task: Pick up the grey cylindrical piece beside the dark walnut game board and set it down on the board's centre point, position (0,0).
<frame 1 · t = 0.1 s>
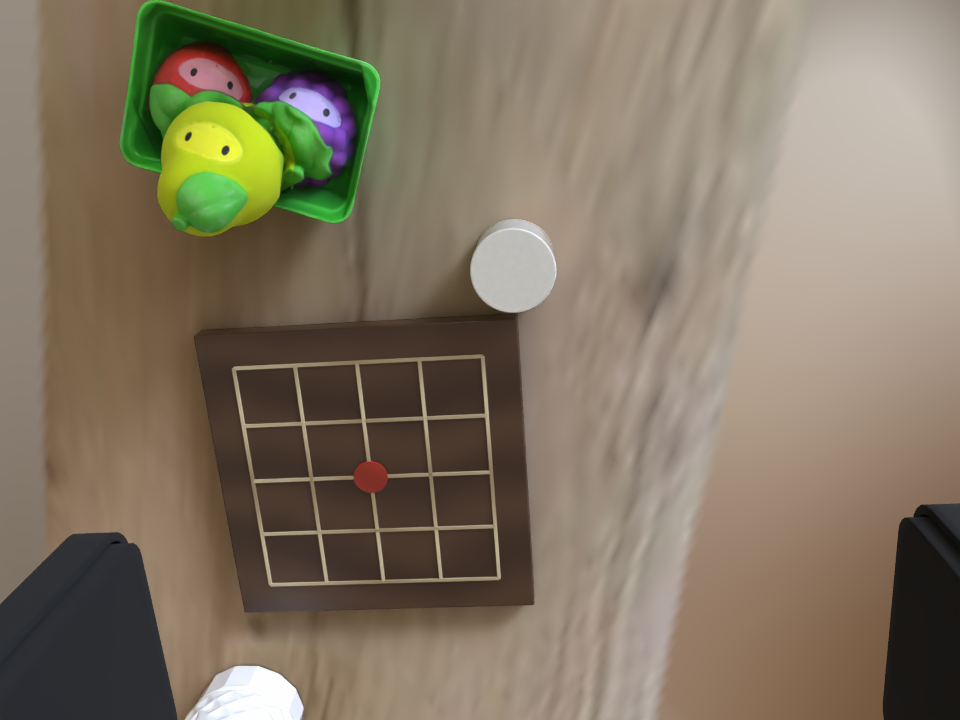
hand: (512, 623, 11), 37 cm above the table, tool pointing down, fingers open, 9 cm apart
board: (374, 467, 51), on the table
fruit basket: (276, 122, 45), on the table
grey cylindrical piece: (514, 259, 46), on the table
white cup: (255, 703, 57), on the table
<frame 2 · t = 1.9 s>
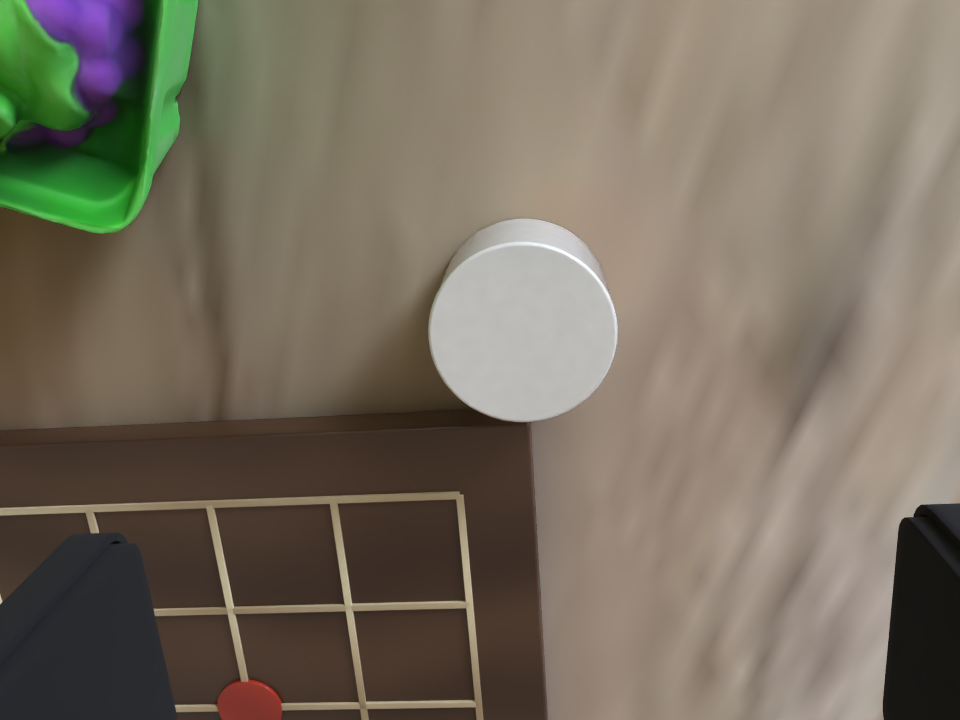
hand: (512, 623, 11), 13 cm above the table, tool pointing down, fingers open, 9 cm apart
board: (262, 679, 27), on the table
fruit basket: (18, 12, 21), on the table
grey cylindrical piece: (523, 301, 23), on the table
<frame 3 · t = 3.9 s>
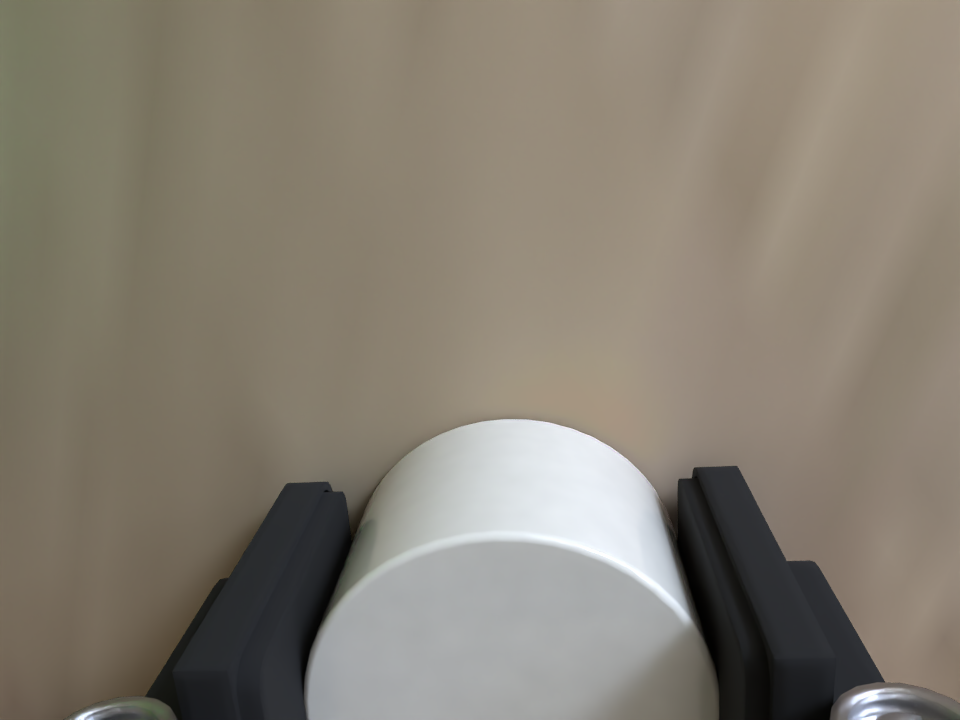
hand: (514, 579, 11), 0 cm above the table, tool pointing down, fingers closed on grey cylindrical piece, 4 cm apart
grey cylindrical piece: (515, 564, 12), on the table, touching gripper
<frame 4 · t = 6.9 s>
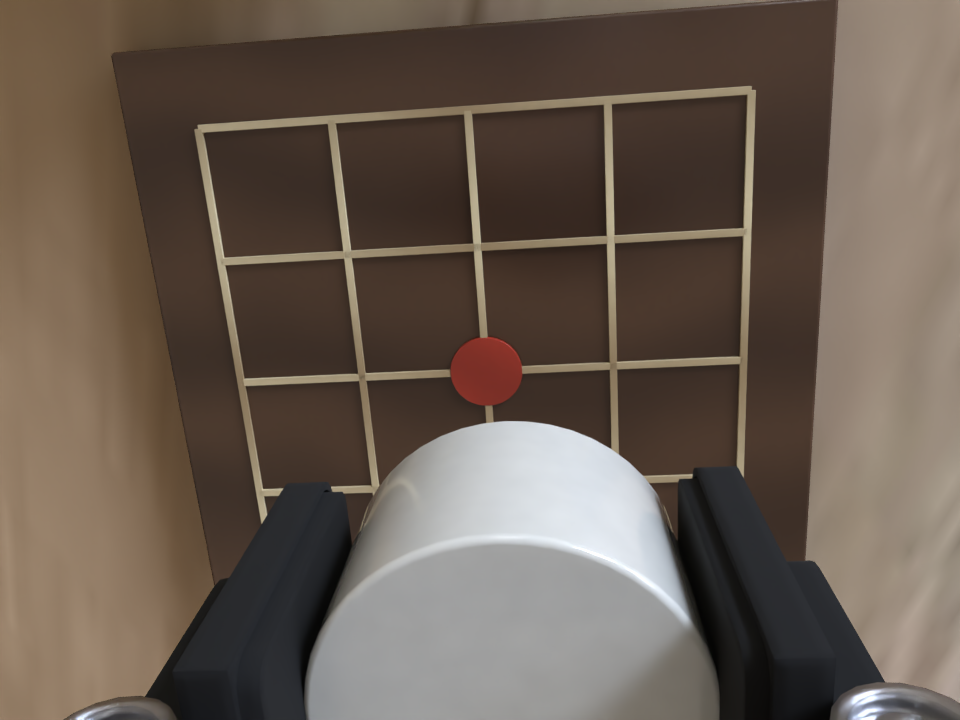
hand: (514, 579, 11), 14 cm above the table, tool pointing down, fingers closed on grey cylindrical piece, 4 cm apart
board: (488, 357, 25), on the table
grey cylindrical piece: (515, 566, 12), point 13 cm above the table, touching gripper
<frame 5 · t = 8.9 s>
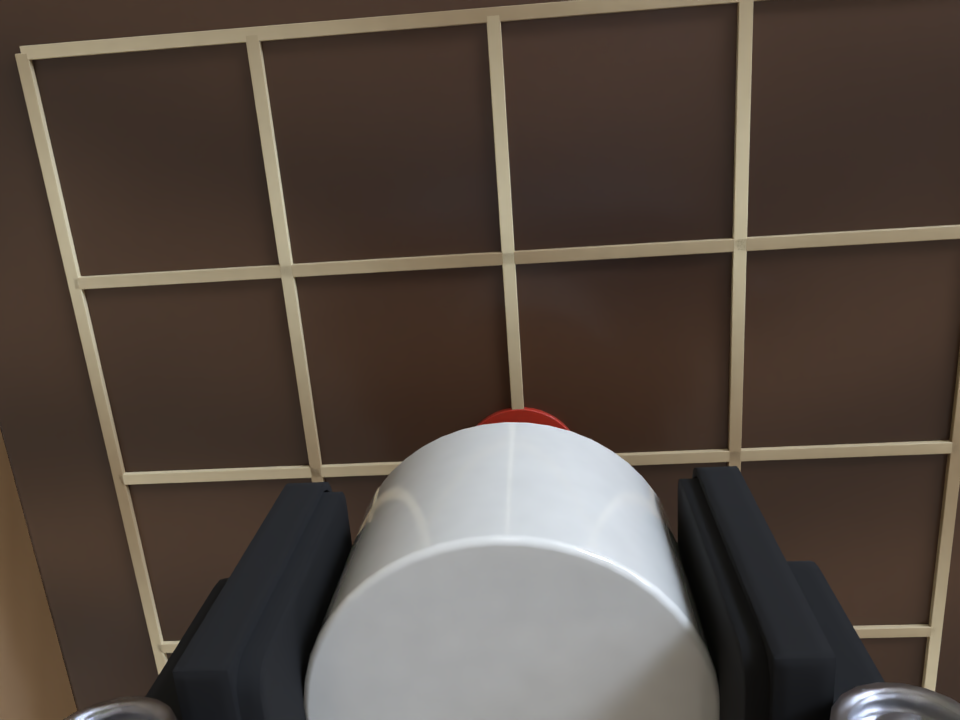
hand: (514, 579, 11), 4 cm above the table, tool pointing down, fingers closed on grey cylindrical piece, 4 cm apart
board: (522, 433, 16), on the table
grey cylindrical piece: (515, 567, 12), point 4 cm above the table, touching gripper
when the fingers open (2 cm above the table, at t = 10.0 s): grey cylindrical piece stays where it is, resting on board.
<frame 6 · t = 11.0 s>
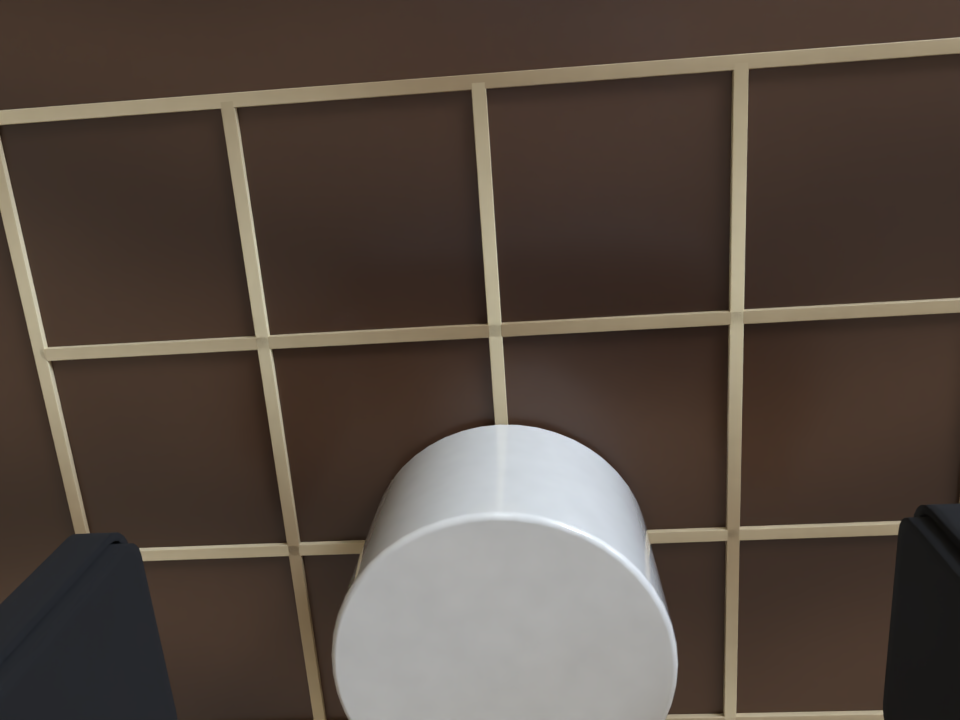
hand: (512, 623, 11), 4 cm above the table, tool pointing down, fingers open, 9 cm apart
board: (511, 505, 15), on the table
grey cylindrical piece: (508, 551, 14), point 1 cm above the table, touching board
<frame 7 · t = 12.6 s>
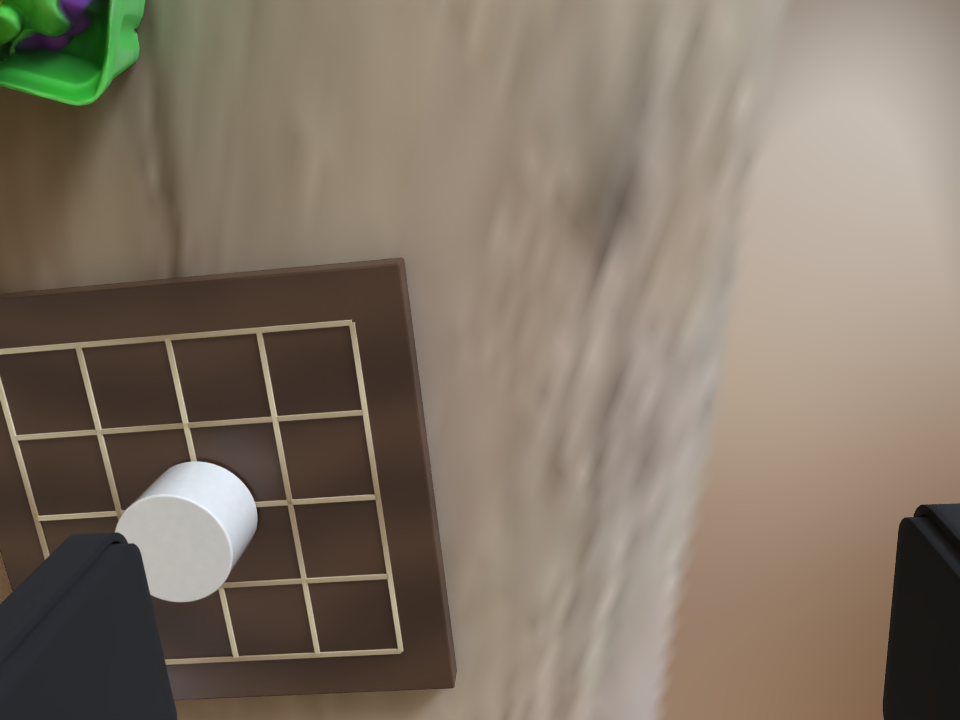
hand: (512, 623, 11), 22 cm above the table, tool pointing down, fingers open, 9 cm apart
board: (215, 493, 35), on the table
grey cylindrical piece: (203, 511, 34), point 1 cm above the table, touching board
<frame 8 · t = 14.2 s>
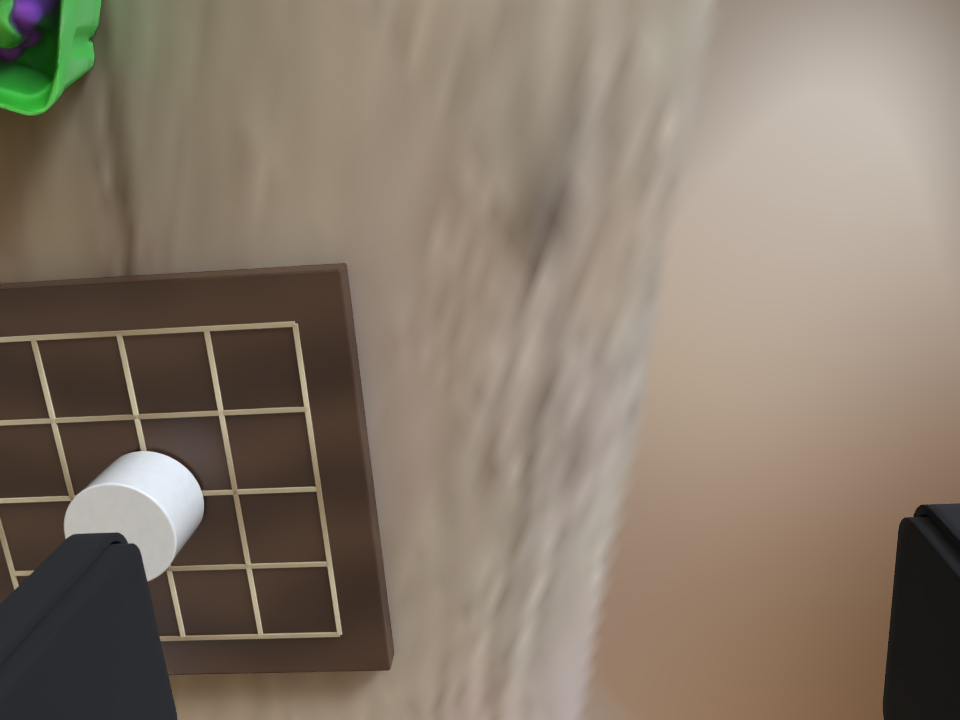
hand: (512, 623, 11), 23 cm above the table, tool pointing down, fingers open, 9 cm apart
board: (165, 481, 37), on the table
grey cylindrical piece: (152, 498, 35), point 1 cm above the table, touching board
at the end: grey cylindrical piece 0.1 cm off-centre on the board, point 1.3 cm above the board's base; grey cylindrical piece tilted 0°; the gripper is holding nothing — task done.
